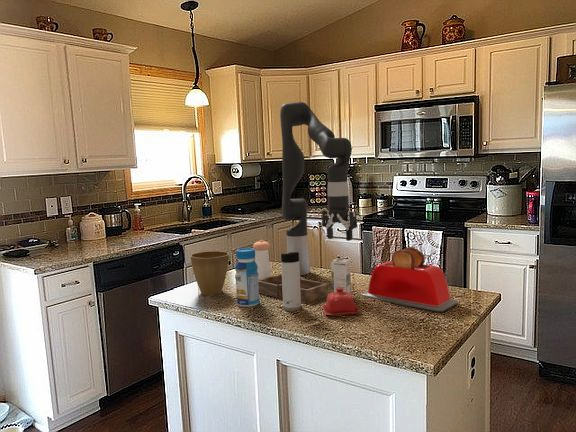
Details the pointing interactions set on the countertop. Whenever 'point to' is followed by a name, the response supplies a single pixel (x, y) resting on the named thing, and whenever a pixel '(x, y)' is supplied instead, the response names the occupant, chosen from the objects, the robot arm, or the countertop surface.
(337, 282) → the syrup box
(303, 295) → the wooden tray
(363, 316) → the countertop surface
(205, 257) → the plant pot
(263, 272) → the salt shaker
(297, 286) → the travel mug
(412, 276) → the toaster
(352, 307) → the butter dish
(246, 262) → the beverage bottle
